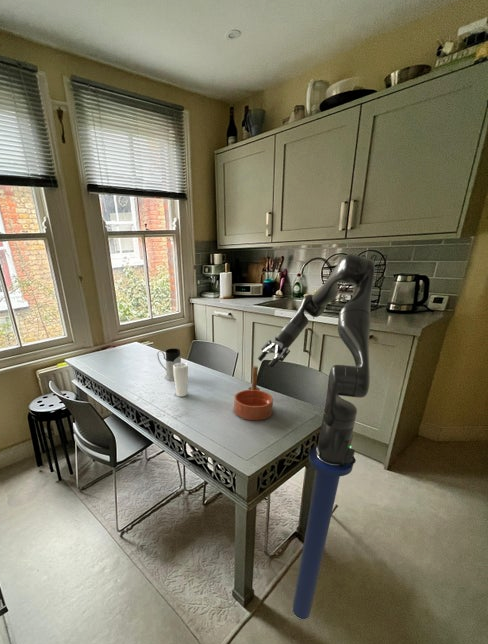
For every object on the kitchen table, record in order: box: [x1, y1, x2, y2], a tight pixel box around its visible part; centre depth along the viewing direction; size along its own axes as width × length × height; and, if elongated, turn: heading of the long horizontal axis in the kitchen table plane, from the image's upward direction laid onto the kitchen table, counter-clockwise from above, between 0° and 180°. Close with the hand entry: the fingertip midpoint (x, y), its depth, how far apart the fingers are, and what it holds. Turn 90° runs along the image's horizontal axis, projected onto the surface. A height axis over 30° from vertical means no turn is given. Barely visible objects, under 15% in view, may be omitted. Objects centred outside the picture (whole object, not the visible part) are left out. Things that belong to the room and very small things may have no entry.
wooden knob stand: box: [247, 365, 261, 391], centre depth 144 cm, size 5×5×14 cm
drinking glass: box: [173, 362, 189, 397], centre depth 147 cm, size 7×7×15 cm
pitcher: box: [156, 347, 182, 382], centre depth 167 cm, size 9×14×15 cm, turn 60°
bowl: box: [233, 389, 274, 421], centre depth 132 cm, size 16×16×6 cm
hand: (264, 362), depth 142 cm, fingers open, 8 cm apart
